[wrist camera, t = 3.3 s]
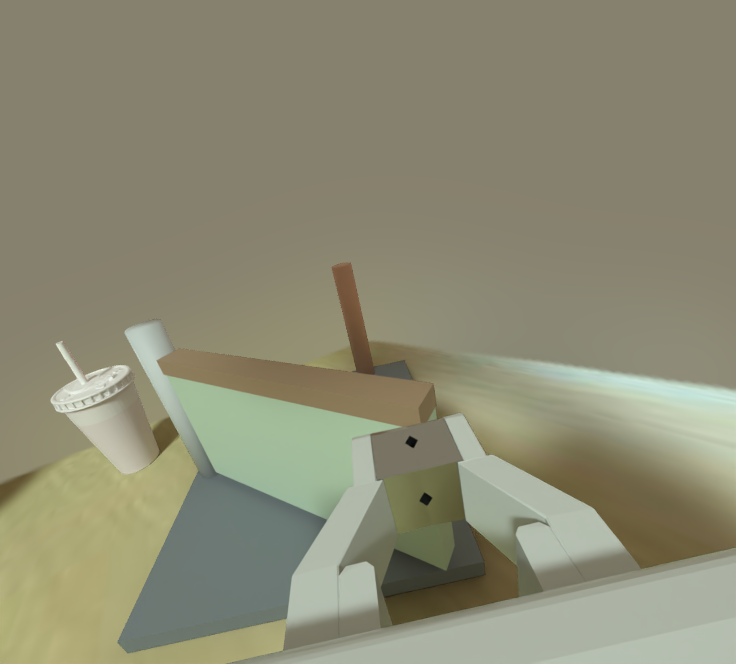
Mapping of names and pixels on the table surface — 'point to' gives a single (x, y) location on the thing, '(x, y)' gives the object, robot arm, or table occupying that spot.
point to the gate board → (251, 525)
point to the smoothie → (108, 414)
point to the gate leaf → (298, 428)
